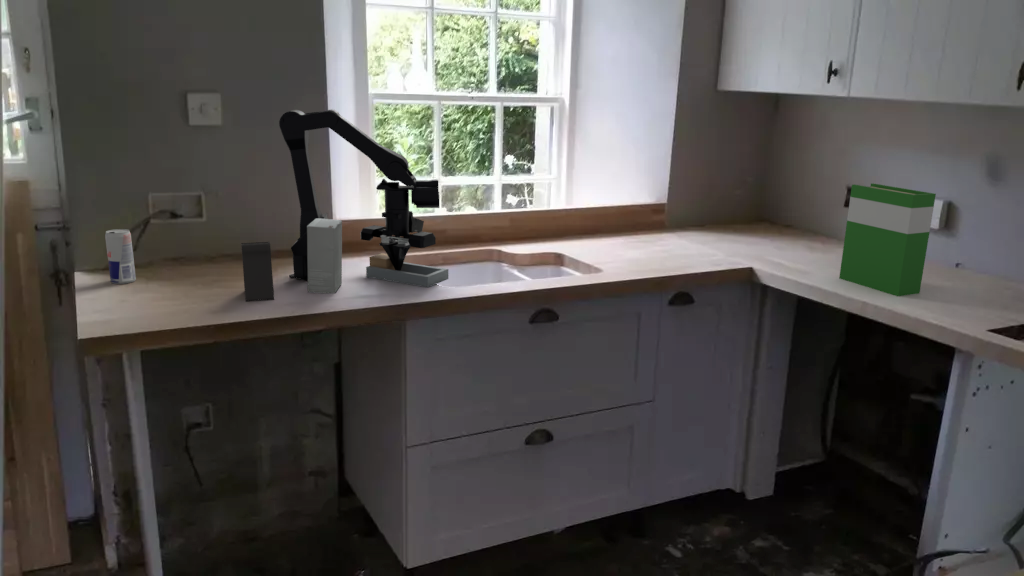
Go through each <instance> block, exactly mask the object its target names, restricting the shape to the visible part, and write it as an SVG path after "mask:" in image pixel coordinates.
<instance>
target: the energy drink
mask: <svg viewBox="0 0 1024 576" xmlns="http://www.w3.org/2000/svg"><path fill="white" fill-rule="evenodd" d="M104 238H105V246H106V255H107V262H108V272H109V279H110V282H111V283H112V284H115V285H124V284H130V283H131V284H132V283H134V282H135V281H136V279H137V276H136V268H135V260H134V251H133V249H134V248H133V243H132V233H131V232H130V229H125V228H118V229H116V228H115V229H110V230H106V231H105V235H104Z"/></svg>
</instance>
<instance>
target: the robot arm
mask: <svg viewBox="0 0 1024 576" xmlns="http://www.w3.org/2000/svg"><path fill="white" fill-rule="evenodd" d="M278 122H279V123H278V125H279V129H280V132H281V134H282V137H283V140H284V142H285V144H286V147H288V150H289V152H290V156H291V157H290V158H291V163H292V168H293V169H292V170H293V173H294V180H295V186H296V189H297V196H298V201H299V207H300V216H299V217H300V218H299V219H300V220H299V237H298V238H297V239H296V240H295V242H294V243H293V244H292V246H291V248H290V250H291V252H292V263H293V265H292V266H293V273H292V274H289V275H288V277H289V278H292V279H298V280H302V281H303V280H304V281H308V260H307V226H308V225H309V224H310V223H311V222H312V221H313V220H315V219H316V218H322V219H329V217H328V213H327V212H325V213H322V212H321V210H320V207H319V205H318V198H317V194H316V193H317V192H316V187H315V182H314V176H313V170H312V165H311V158H310V153H309V140H310V131H312V130H319V129H325V128H328V129H330V130H331V131H332V132H334V133H335V134H337V135H338V136H339V137H340V138H343V140H345V141H346V142H347V143H349V144H350V145H351V146H353V147H354V148H355V149H357V150H358V151H359V152H361V153H362V154H364V155H365V156H366V157H368V158H369V159H370V161H372V163H373V164H374V165H375V166H376V168H378V170H379V171H380V173H382V174H383V175H384V176H385V178H387V179H388V180H389V181H387V180H386V179H385V178H382V180H381V181H380V182H379V184H377V186H376V187H375V188H376V190H378V191H382V190H383V191H384V212H381V217H382V218H384V219H385V220H384V221H385V222H384V223H385V224H384V225H385V226H384V225H383V226H382V225H369V226H366V227H363V228H362V229H361V230H360V240H361V241H366V242H367V241H368V242H369V241H372V240H373V238H380V240H381V241H380V242H379V243H378V244H379V246H381V247H382V248H383V250H384V252H385V254H387V255H388V257H389V258H390V260H391V262H392V264H393V266H394V268H395V270H397V271H400V270H401V268H402V265H403V262H405V259H406V256H407V254H408V251H409V250H410V248H416V249H425V248H427V247H431V246H434V245H436V243H437V242H436V235H435V234H434V233H433V232H429V231H428V232H427V231H423V229H424V223H425V220H422V219H419V218H417V217H414V213H413V211H412V210H410V199H411V204H412V205H413V206H415V207H416V209H440V191H439V179H437V178H436V179H430V180H428V179H422V180H421V179H417V178H416V176H415V175H414V174H413V173H412V172H411V170H410V169H409V166H410V165H409V162H408V160H407V158H406V157H405V156H403V155H401V154H400V153H398V152H396V151H394V150H392V149H390V148H387V147H385V146H383V145H382V144H379V143H378V142H377V141H375V140H374V139H372V138H371V137H370V136H369V135H368V134H366V133H365V132H363V131H362V130H361V129H360V128H358V127H357V126H355V125H354V124H353V123H351V122H350V121H349V120H348V119H346V118H345V117H343V115H341V114H340V112H339V111H337V110H335V109H333V108H332V109H328V110H324V111H314V112H305V113H304V111H302V110H299V109H292V110H290V111H286V112H284V113H283V114H282V115H281V117H280V118H279V121H278ZM400 183H401V184H403V185H400ZM409 191H410V192H411V193H410V194H409ZM410 195H411V198H410Z"/></svg>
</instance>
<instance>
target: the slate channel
mask: <svg viewBox="0 0 1024 576" xmlns="http://www.w3.org/2000/svg"><path fill="white" fill-rule="evenodd" d="M365 268H366V270H365V272H366V274H365V275H366V278H371V279H377V280H384V281H388V282H394V283H401V284H406V285H412V286H418V287H423V288H424V287H425V288H429V287H432V286H434V285H437V284H439V283H442V282H445V281H447V280H449V268H445V267H438V266H430V265H424V264H419V263H413V262H405V261H404V262H403V265H402V268H401V270H400V271H397V270H391V269H385V268H379V267H373V266H370V265H368V266H366V267H365Z"/></svg>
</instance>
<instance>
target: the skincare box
mask: <svg viewBox="0 0 1024 576" xmlns="http://www.w3.org/2000/svg"><path fill="white" fill-rule="evenodd" d="M307 260H308V280H307V292H308V293H312V294H313V293H314V294H315V293H318V294H335V293H336V292H337V290H338V289H339V288H340V287H341V285H342V284H343V283H342V282H343V279H342V277H343V276H342V275H343V272H342V270H343V267H342V266H343V220H342V219H332V218H328V219H322V218H316V219H315V220H313V221H312V222H311V223H310V224H309V225H308V226H307Z"/></svg>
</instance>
